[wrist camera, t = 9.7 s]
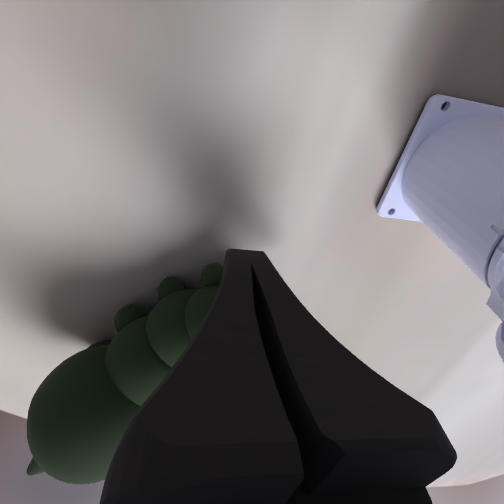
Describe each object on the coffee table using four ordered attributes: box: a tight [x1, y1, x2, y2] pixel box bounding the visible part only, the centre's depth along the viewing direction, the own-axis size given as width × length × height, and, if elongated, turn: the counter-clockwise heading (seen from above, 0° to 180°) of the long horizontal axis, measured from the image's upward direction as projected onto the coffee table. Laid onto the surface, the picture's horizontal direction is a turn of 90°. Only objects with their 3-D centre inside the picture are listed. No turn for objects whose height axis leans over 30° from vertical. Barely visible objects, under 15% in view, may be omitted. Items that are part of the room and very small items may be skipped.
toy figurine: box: [27, 263, 224, 484], centre depth 20 cm, size 9×19×25 cm
